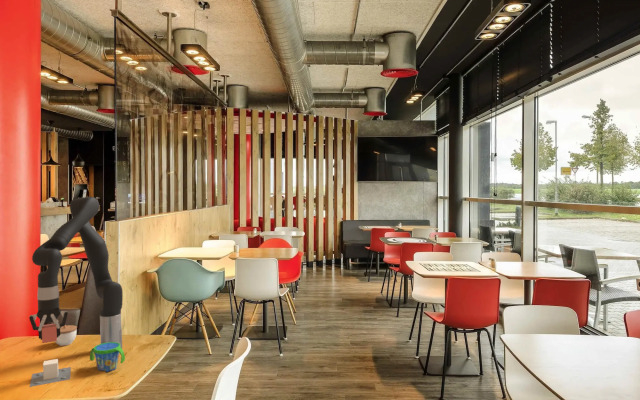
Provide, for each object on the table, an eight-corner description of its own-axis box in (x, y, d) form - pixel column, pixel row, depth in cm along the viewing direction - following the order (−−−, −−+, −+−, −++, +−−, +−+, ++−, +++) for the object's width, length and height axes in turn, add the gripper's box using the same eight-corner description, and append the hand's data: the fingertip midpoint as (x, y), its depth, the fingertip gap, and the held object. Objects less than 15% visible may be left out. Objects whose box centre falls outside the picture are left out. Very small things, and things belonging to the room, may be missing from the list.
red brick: (57, 337, 188) (56, 323, 187) (56, 341, 183) (56, 326, 183) (43, 339, 185) (42, 325, 185) (42, 343, 181) (41, 328, 181)
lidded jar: (59, 349, 219) (59, 330, 218) (48, 344, 225) (47, 326, 224) (81, 342, 228) (80, 324, 227) (70, 338, 234) (69, 320, 233)
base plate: (70, 369, 194) (70, 366, 194) (70, 381, 182) (70, 378, 182) (32, 376, 188) (32, 373, 188) (29, 389, 175) (29, 386, 175)
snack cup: (131, 366, 196) (130, 343, 196) (113, 376, 186) (112, 352, 186) (102, 362, 201) (101, 340, 201) (83, 372, 191) (82, 348, 191)
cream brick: (58, 372, 188) (57, 358, 188) (57, 377, 184) (57, 362, 183) (44, 375, 186) (43, 361, 185) (43, 380, 181) (43, 365, 181)
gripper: (68, 293, 190) (69, 332, 191) (28, 297, 184) (29, 338, 184) (68, 296, 184) (69, 337, 184) (26, 301, 177) (28, 344, 177)
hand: (49, 337), depth 184 cm, fingers closed on red brick, 5 cm apart
